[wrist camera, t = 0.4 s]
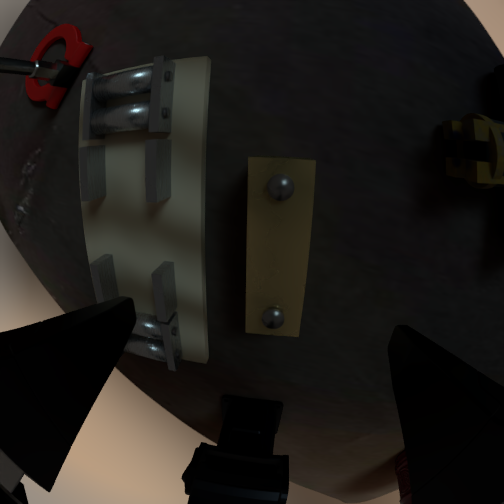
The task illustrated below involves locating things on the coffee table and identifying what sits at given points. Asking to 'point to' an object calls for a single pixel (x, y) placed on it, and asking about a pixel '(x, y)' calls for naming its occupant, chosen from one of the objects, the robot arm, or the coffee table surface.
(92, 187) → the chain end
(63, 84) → the gray post stand
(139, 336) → the chain end
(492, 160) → the pipe connector
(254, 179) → the tapered knobbed panel
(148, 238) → the board
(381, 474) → the coffee table surface
